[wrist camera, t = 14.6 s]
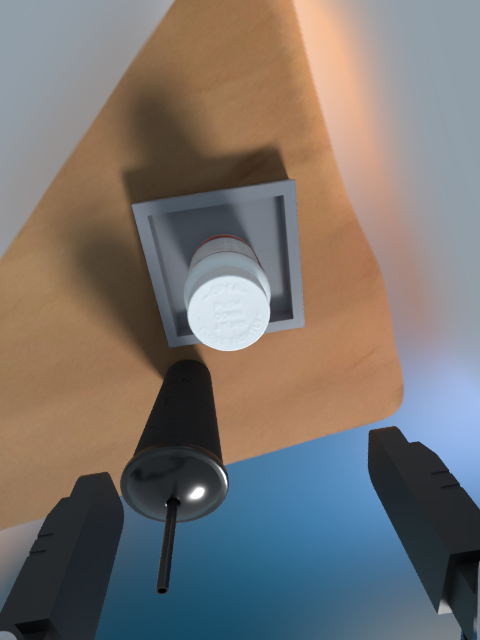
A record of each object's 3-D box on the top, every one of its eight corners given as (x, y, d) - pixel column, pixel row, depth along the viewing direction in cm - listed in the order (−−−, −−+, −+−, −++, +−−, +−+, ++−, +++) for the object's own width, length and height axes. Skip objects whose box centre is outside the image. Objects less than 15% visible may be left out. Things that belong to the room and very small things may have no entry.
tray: (172, 335, 34) (169, 347, 32) (138, 202, 28) (131, 204, 26) (298, 316, 34) (304, 326, 32) (288, 178, 29) (295, 179, 26)
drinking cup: (238, 374, 36) (262, 580, 18) (194, 417, 38) (175, 641, 20) (182, 333, 34) (144, 525, 16) (138, 382, 36) (60, 601, 18)
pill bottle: (247, 304, 32) (263, 367, 22) (184, 290, 31) (170, 349, 21) (265, 241, 30) (292, 280, 20) (198, 224, 29) (189, 255, 19)
